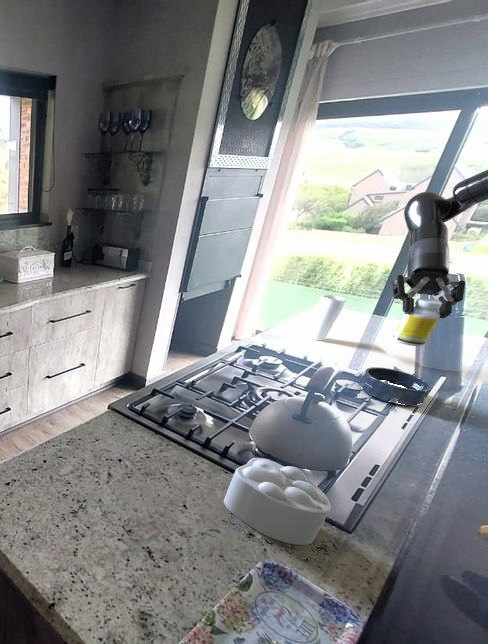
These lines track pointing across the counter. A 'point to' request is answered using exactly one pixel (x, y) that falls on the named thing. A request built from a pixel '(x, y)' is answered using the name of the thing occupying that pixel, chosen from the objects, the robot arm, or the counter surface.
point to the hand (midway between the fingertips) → (426, 314)
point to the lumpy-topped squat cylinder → (277, 501)
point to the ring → (410, 396)
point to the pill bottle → (418, 323)
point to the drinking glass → (325, 316)
